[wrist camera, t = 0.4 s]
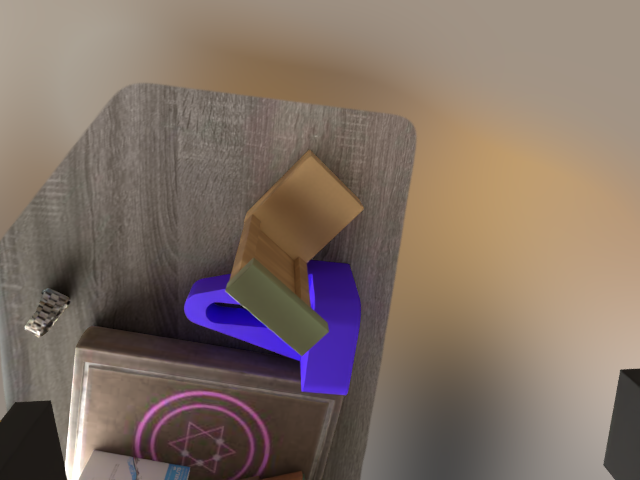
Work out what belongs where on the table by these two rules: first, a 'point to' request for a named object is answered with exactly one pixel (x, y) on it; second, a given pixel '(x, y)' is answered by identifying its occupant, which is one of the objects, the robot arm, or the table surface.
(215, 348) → the book
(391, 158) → the table surface
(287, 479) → the decorative book
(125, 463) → the ink box
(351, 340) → the bracket
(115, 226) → the table surface
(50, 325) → the wristwatch
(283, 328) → the two-tone angled block
